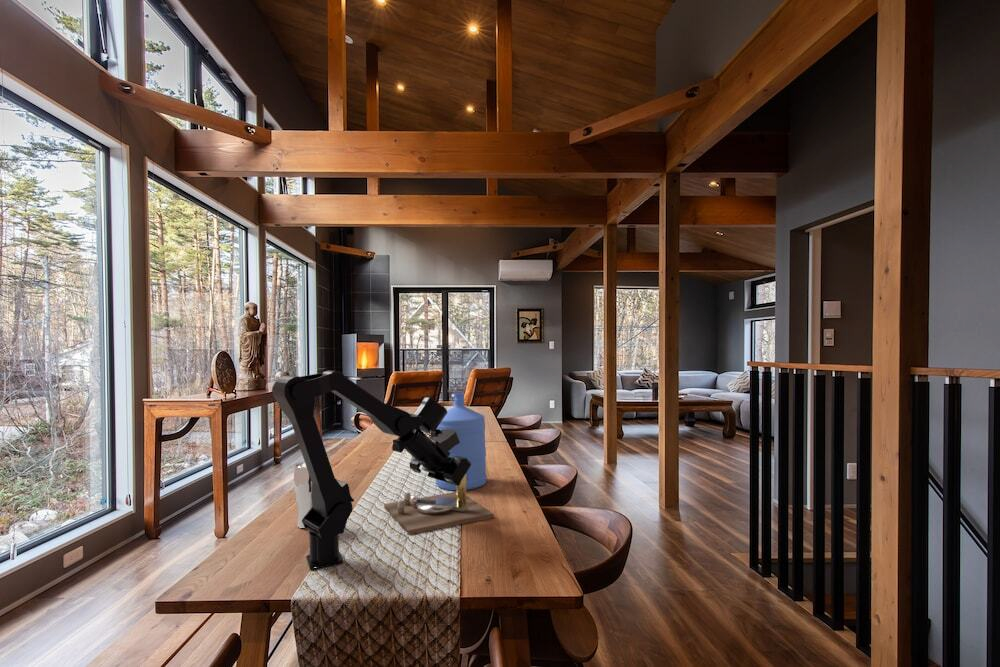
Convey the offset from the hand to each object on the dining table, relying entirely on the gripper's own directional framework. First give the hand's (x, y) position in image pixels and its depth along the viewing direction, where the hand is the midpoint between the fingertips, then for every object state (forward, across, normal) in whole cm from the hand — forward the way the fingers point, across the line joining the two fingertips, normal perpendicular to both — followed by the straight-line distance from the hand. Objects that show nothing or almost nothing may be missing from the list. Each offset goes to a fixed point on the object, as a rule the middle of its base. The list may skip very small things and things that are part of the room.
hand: (458, 483), depth 131 cm
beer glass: (-14, +23, +26) cm, 38 cm away
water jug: (+20, +23, -7) cm, 31 cm away
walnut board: (+5, +7, +7) cm, 11 cm away
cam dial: (+4, +7, +6) cm, 10 cm away
